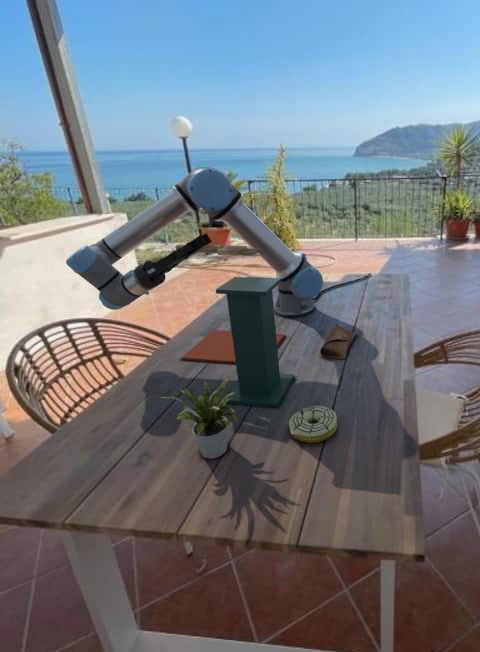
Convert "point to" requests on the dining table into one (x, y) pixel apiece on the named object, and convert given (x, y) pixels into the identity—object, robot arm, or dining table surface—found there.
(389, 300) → the dining table surface
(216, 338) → the mat
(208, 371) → the dining table surface
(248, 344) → the stand
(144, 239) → the robot arm
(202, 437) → the house plant
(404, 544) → the dining table surface
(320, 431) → the decorated donut
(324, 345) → the sunglasses case
